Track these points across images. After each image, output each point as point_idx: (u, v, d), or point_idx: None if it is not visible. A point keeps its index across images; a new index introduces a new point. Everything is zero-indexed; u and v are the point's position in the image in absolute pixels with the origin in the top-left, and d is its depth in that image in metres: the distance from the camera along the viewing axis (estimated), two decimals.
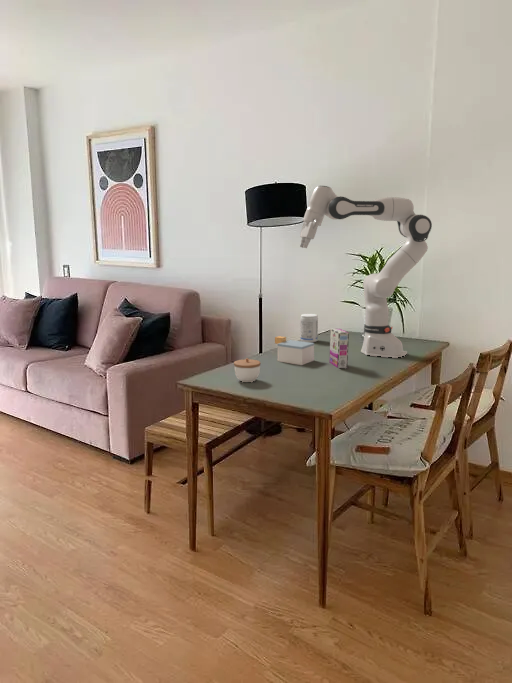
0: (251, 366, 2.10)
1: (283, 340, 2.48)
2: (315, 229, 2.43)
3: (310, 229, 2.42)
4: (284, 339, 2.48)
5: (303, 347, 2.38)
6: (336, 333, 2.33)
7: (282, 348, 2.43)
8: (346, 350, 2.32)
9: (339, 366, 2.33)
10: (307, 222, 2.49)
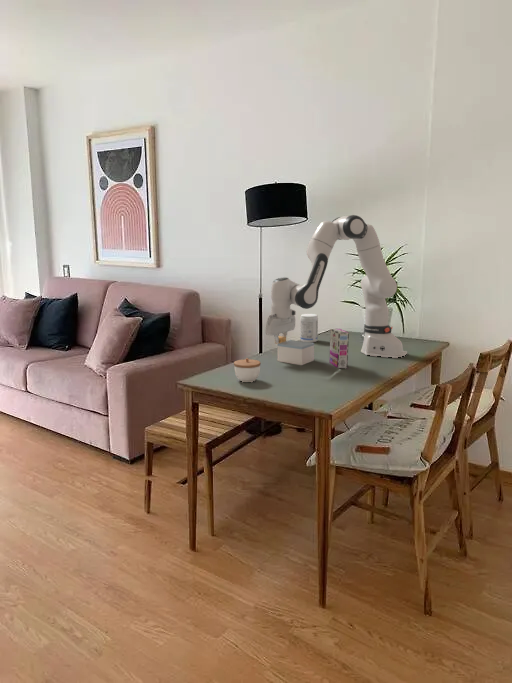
0: (251, 366, 2.10)
1: (283, 340, 2.48)
2: (270, 325, 2.39)
3: (266, 327, 2.41)
4: (284, 339, 2.48)
5: (303, 347, 2.38)
6: (336, 333, 2.33)
7: (282, 348, 2.43)
8: (346, 350, 2.32)
9: (339, 366, 2.33)
10: None
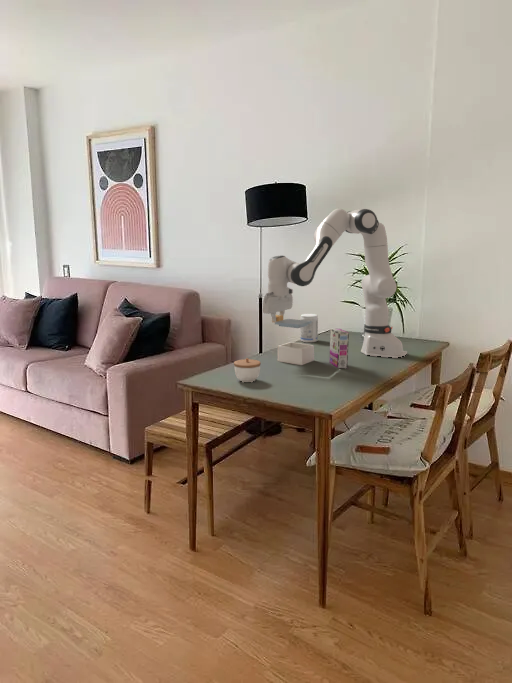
0: (251, 366, 2.10)
1: (280, 319, 2.47)
2: (267, 303, 2.38)
3: (263, 305, 2.40)
4: (281, 318, 2.47)
5: (300, 325, 2.37)
6: (336, 333, 2.33)
7: (282, 348, 2.43)
8: (346, 350, 2.32)
9: (339, 366, 2.33)
10: None
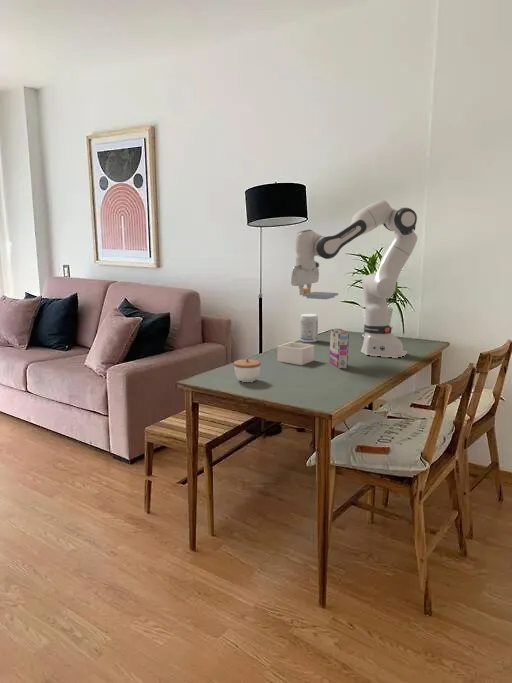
0: (251, 366, 2.10)
1: (308, 291, 2.54)
2: (296, 276, 2.45)
3: (292, 277, 2.47)
4: (309, 290, 2.54)
5: (328, 296, 2.44)
6: (336, 333, 2.33)
7: (282, 348, 2.43)
8: (346, 350, 2.32)
9: (339, 366, 2.33)
10: None
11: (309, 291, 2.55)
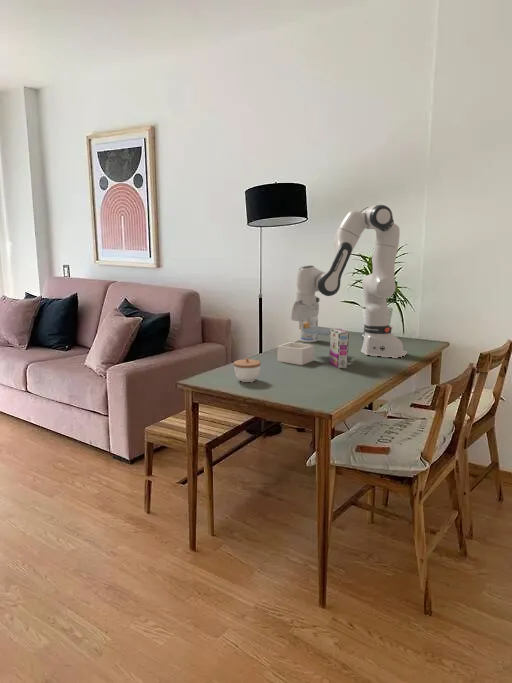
0: (251, 366, 2.10)
1: (307, 326, 2.57)
2: (296, 311, 2.49)
3: (292, 312, 2.50)
4: (308, 325, 2.58)
5: (327, 332, 2.47)
6: (336, 333, 2.33)
7: (282, 348, 2.43)
8: (346, 350, 2.32)
9: (339, 366, 2.33)
10: None
11: (309, 325, 2.58)
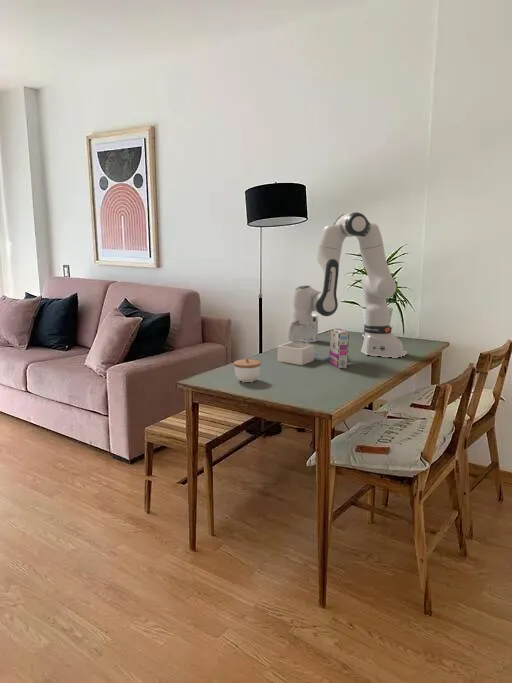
0: (251, 366, 2.10)
1: None
2: (293, 332, 2.48)
3: (289, 333, 2.50)
4: None
5: (324, 359, 2.47)
6: (336, 333, 2.33)
7: (282, 348, 2.43)
8: (346, 350, 2.32)
9: (339, 366, 2.33)
10: None
11: None
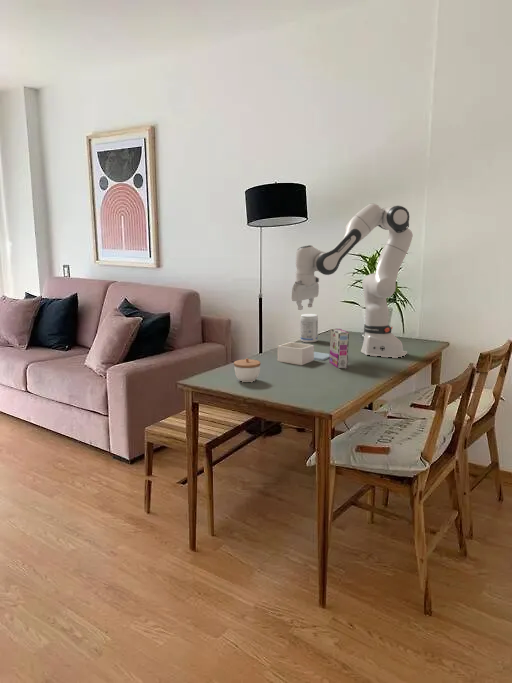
0: (251, 366, 2.10)
1: None
2: (296, 291, 2.48)
3: (292, 293, 2.49)
4: None
5: (324, 359, 2.47)
6: (336, 333, 2.33)
7: (282, 348, 2.43)
8: (346, 350, 2.32)
9: (339, 366, 2.33)
10: None
11: None
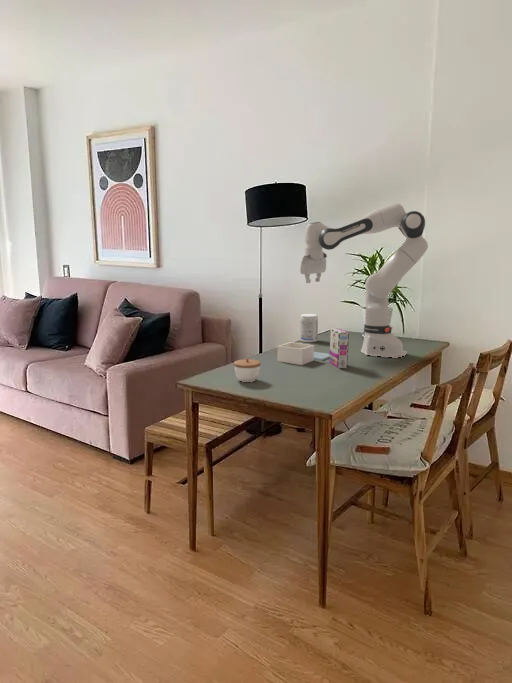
0: (251, 366, 2.10)
1: None
2: (305, 265, 2.62)
3: (301, 266, 2.63)
4: None
5: (323, 359, 2.48)
6: (336, 333, 2.33)
7: (282, 348, 2.43)
8: (346, 350, 2.32)
9: (339, 366, 2.33)
10: None
11: None
